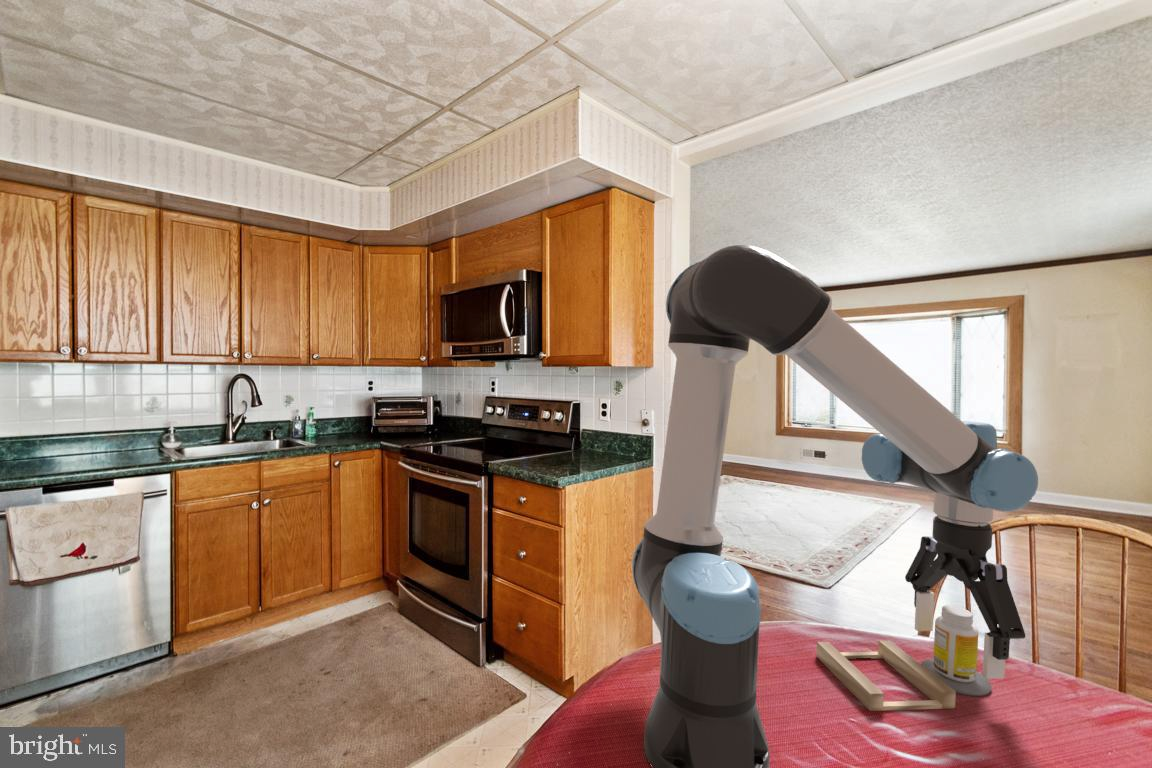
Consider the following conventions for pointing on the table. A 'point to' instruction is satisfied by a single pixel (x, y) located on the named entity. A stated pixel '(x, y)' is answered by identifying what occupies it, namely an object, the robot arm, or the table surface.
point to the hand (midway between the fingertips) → (955, 651)
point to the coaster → (973, 688)
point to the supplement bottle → (956, 644)
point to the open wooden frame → (899, 661)
